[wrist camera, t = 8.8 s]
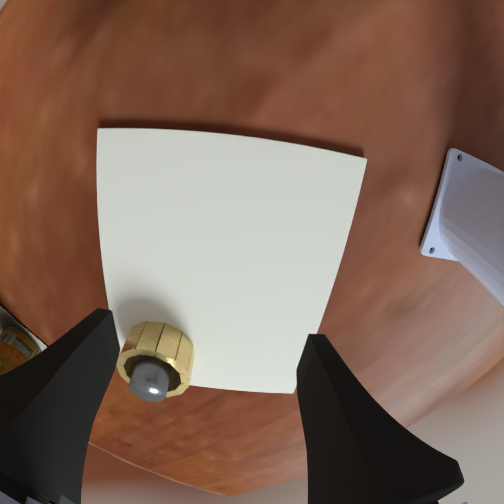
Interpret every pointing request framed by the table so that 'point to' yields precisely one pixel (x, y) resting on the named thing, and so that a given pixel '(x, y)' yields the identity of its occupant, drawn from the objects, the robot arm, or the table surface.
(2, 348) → the condiment
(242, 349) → the mat
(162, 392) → the piston
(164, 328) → the ring
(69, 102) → the table surface
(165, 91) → the table surface
